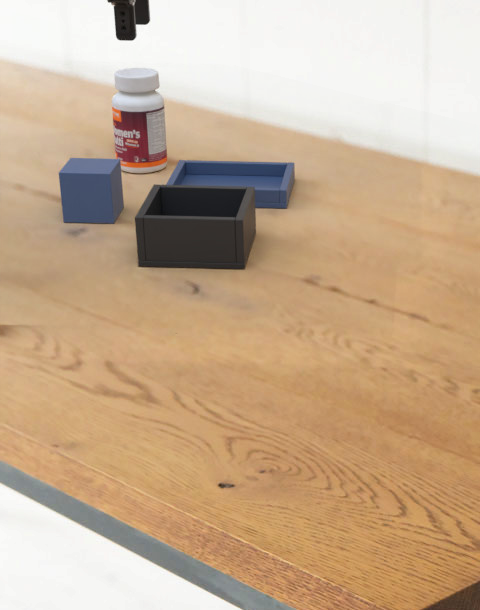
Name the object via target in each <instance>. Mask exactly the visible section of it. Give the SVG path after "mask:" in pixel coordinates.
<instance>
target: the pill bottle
mask: <svg viewBox="0 0 480 610" xmlns="http://www.w3.org/2000/svg"><path fill="white" fill-rule="evenodd" d="M113 77H114V88H115V90H117V92H116V93H114V95H113V96H112V98H111V111H112V129H113V141H114V153H115V159H120V162H121V171H122V172H124V173H125V172H126V173H131V174H149V173H155V172H158V171H161V170H163V169H165V168H166V167H167V165H168V150H167V148H168V147H167V131H166V128H167V127H166V111H165V99H164V97H163V95H162V94H161V93H160V92H158V91H156V90H158V89H160V85H161V84H160V77H159V71H158V70H157V69H154V68H149V67H129V68H128V67H127V68H122V69H118V70H116V71H114V75H113Z"/></svg>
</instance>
